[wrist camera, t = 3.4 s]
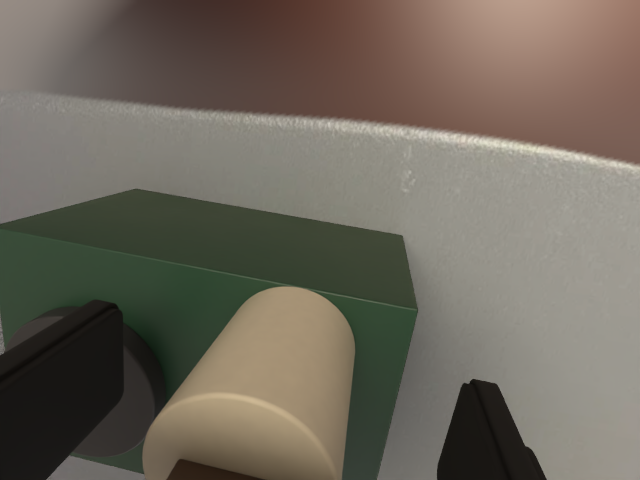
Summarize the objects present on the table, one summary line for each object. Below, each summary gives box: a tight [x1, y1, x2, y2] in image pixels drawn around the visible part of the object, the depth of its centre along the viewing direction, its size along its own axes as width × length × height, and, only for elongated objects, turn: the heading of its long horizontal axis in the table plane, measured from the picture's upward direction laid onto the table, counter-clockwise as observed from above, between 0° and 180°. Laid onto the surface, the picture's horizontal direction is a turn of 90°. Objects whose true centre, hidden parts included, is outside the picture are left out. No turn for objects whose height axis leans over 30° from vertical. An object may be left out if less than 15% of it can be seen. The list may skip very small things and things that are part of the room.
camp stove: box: [0, 189, 418, 480], centre depth 17 cm, size 14×9×9 cm, turn 82°
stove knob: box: [142, 287, 355, 480], centre depth 10 cm, size 4×4×6 cm
